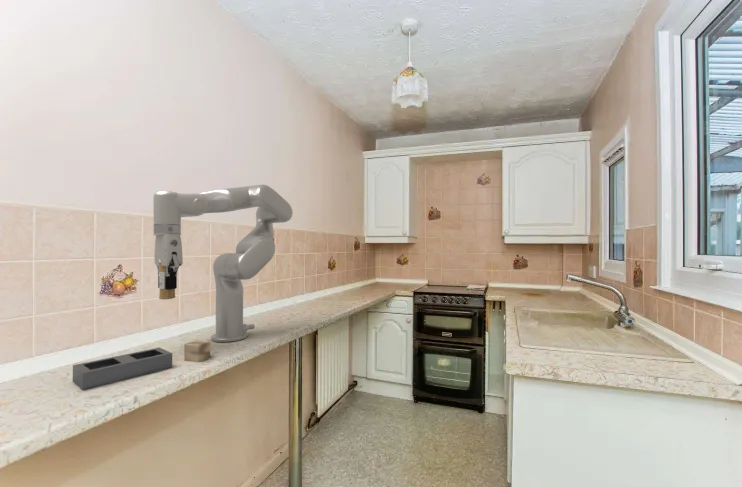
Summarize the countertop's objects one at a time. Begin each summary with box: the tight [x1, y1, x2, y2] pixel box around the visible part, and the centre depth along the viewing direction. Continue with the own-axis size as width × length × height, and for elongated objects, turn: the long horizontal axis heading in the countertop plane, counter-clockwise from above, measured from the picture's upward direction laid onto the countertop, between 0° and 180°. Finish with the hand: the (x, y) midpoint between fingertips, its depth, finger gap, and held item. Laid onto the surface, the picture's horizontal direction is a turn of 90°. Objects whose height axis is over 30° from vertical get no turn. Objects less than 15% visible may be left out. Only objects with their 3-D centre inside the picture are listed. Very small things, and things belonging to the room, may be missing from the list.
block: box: [183, 339, 211, 363], centre depth 106 cm, size 5×5×5 cm
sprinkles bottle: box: [158, 259, 176, 300], centre depth 111 cm, size 5×5×14 cm
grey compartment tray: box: [72, 347, 173, 391], centre depth 93 cm, size 20×9×4 cm, turn 142°
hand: (167, 287), depth 111 cm, fingers closed on sprinkles bottle, 4 cm apart
